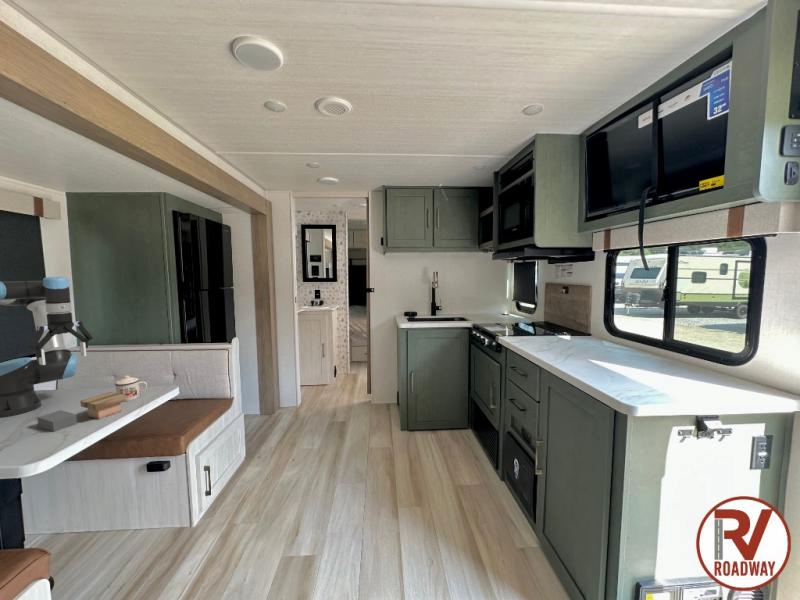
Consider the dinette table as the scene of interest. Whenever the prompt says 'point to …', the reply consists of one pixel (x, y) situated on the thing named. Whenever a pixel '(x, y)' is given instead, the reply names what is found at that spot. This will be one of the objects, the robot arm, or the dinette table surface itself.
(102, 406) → the lid
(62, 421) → the gray rectangular block
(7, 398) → the robot arm
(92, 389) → the dinette table surface
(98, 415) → the pink hollow square box
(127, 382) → the teacup with lid
